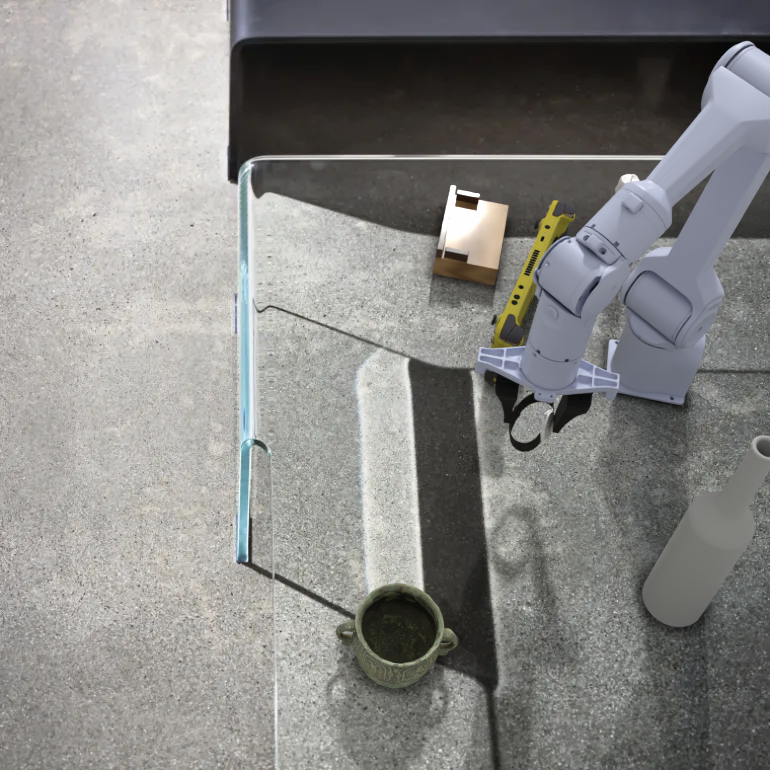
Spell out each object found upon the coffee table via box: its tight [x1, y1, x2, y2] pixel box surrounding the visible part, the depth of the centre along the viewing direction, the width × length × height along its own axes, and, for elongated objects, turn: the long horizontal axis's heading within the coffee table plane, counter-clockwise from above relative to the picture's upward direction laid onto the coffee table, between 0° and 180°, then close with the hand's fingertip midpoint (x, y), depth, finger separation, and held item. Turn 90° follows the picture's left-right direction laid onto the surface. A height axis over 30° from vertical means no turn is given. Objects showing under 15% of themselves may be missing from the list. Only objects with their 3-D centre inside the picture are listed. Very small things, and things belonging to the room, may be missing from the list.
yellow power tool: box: [483, 199, 577, 386], centre depth 140 cm, size 26×4×10 cm, turn 159°
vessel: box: [334, 582, 459, 689], centre depth 113 cm, size 12×9×6 cm
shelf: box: [432, 185, 510, 286], centre depth 149 cm, size 8×12×4 cm, turn 170°
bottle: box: [641, 434, 770, 628], centre depth 111 cm, size 7×7×28 cm
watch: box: [508, 392, 555, 453], centre depth 124 cm, size 8×5×4 cm, turn 155°
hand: (531, 420), depth 124 cm, fingers closed on watch, 5 cm apart
